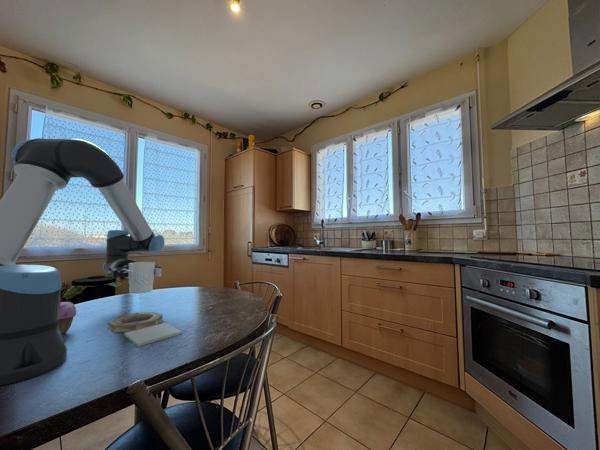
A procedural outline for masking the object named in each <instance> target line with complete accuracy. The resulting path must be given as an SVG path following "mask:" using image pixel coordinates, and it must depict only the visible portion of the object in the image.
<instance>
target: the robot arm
mask: <svg viewBox="0 0 600 450" xmlns="http://www.w3.org/2000/svg"><path fill="white" fill-rule="evenodd" d="M11 158H12V159H13V160H12V165H13V167H12V168H13V169H12V170H13V172H14V173H15V174H16V177H15V178H14V180H13V181H12V183H11V185H9V187H8V189H7V190H6V192H5V193H4V194H3V196H2V198H1V199H0V386H5V385H11V384H13V383H14V384H15V383H18V382H21V381H25V380H28V379H32V378H35V377H37V376H39V375H40V376H41V375H42V374H45V373H47V372H49V371H52V370H53V369H55V368H58V367H59V366H61V365H62V364H64V363H65V362H66V360H67V358H68V348H67V345H66V343H65V340H64V338H63V336H62V335H63V334H62V335H61V333H60V330H59V312H60V302H61V296H62V295H61V294H62V281H61V278H62V277H61V271H60V270H59V269H57V268H55V267H53V266H49V265H41V264H17V263H16V261H17V260H18V258H19V256H20V255H21V253H22V252H23V249H24V247H25V245H26V244H27V242H28V240H29V238H30V237H31V235H32V233H33V232H34V230H35V228H36V227H37V224H38V223H39V221H40V219H41V218H42V216H43V214H44V213H45V211H46V209H47V208H48V205H49V204H50V202H51V200H52V199H53V197H54V195H55V193H56V191H58V190H64V189H66V187H67V185H68V183H69V182H70V180H71V179H72V178H83V179H84V180H86V181H88V182H89V184H90V185H91V187H92V188H95V189H98V191H99V192H100V193H101V195H102V196H103V198H104V199H105V201H106V202H107V204H108V205H109V207H110V208H111V209H112V211H113V213H114V214H115V215H116V217H117V218H118V220H119V221H120V224H122V225H123V227H124V228H125V229H109V230H108V231H107V234H106V235H107V237H106V240H105V241H106V246H105V247H106V249H105V250H106V251H105V252H106V256H105V261H104V263H103V264H102V270H103V271H104V272H105V274H107V276H111V278H112V279H117V278H119V281H120V280H121V281H124V280H129V279H131V280H134V275H135V271H132V270H129V263H134V262H136V261H135V260H133V259H129V253H159V252H161V251H162V250H164V249H163V248H164V247H165V238H164V236H163V235H161V234H159V233H154V232H153V230H152V229H151V228H152V227H150V225H149V223H148V221H147V220H146V218H145V216H144V215H143V213H142V211H141V208H139V206H138V204H137V202H136V201H135V199H134V197H133V196H132V194H131V192H130V189H129V188H128V186H127V185H126V183H125V182H124V178H125V174H124V173H123V171H122V170H121V168H120V167H119V165H118V164H117V162H116V161H115V160H114V159H113V158H112V157H111V156H110V155H109V154H108V153H107V152H106V151H105V150H104V149H102V148H100V147H99V146H98V145H96V144H94V143H92V142H90V141H88V140H84V139H81V138H44V137H43V138H42V137H41V138H33V139H25V140H23V141H20V142H18V143H17V144H16V145H15V146H14V148H13V149H12V152H11ZM162 271H163V269H162V266H158V265H156V264H155V271H154V277H161V278H162Z"/></svg>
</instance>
